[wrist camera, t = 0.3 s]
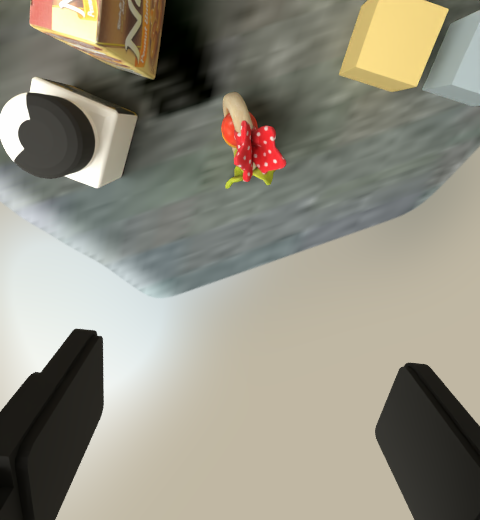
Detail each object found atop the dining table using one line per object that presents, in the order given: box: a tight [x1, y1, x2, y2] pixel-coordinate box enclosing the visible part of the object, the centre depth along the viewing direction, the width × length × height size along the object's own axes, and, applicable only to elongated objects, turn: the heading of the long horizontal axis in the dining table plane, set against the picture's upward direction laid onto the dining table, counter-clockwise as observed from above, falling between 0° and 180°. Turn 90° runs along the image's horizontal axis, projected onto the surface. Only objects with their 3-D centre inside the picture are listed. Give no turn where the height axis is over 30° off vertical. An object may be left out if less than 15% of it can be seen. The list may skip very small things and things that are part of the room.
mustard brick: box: [339, 0, 449, 92], centre depth 31 cm, size 6×6×5 cm
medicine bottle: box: [0, 77, 137, 188], centre depth 29 cm, size 7×7×12 cm
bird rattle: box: [221, 92, 286, 188], centre depth 31 cm, size 6×11×9 cm
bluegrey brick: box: [422, 10, 480, 106], centre depth 31 cm, size 6×6×5 cm
